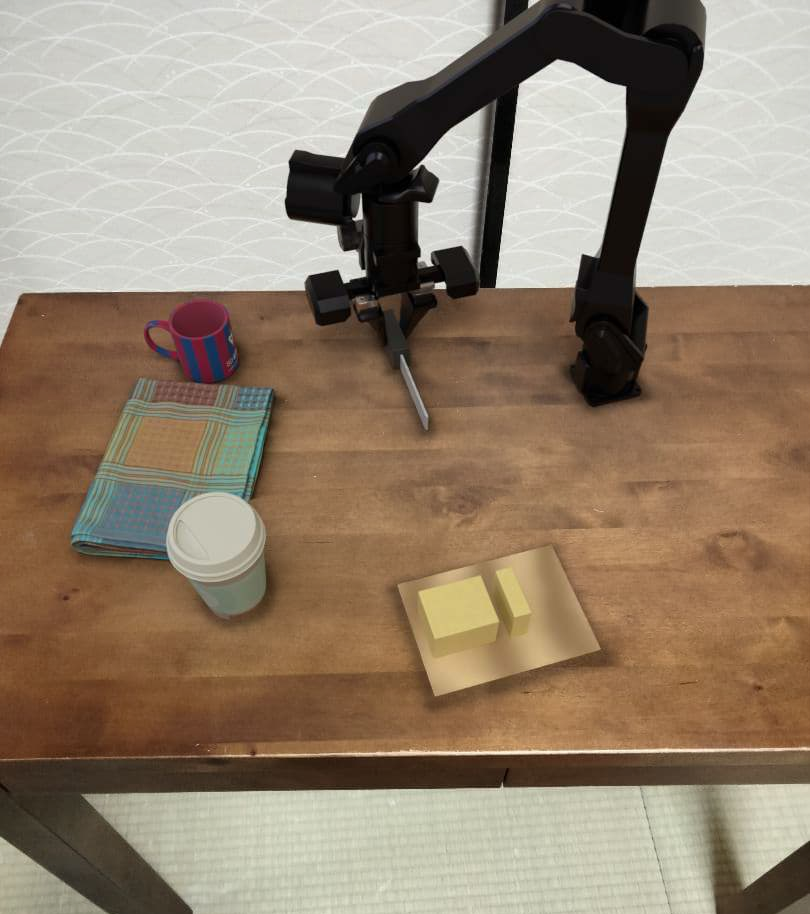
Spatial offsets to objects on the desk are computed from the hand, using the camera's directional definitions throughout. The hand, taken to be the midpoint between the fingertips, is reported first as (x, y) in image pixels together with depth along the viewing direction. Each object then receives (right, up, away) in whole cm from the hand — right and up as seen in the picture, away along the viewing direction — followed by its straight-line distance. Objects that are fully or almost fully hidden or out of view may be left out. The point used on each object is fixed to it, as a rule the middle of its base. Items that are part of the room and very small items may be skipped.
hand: (393, 342), depth 97 cm
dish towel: (-23, -16, -9) cm, 29 cm away
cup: (-23, -3, 0) cm, 23 cm away
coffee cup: (-15, -29, -18) cm, 37 cm away
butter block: (+6, -32, -21) cm, 39 cm away
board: (+10, -32, -20) cm, 39 cm away
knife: (+1, -5, -2) cm, 5 cm away
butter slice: (+11, -30, -21) cm, 39 cm away
